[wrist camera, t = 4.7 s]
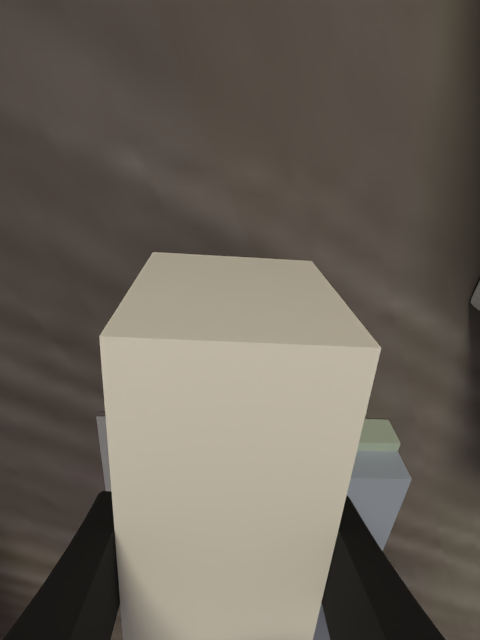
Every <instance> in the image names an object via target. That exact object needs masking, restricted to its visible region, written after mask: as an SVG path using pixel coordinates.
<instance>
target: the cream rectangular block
mask: <svg viewBox="0 0 480 640" xmlns="http://www.w3.org/2000/svg"><path fill="white" fill-rule="evenodd" d="M99 338H100V351H101V364H102V377H103V390H104V403H105V415H106V428H107V441H108V454H109V467H110V480H111V492H112V505H113V518H114V531H115V544H116V556H117V569H118V582H119V595H120V608H121V621H122V633H123V640H313V636H314V632H315V628H316V624H317V619H318V615H319V611H320V607H321V602H322V598H323V594H324V590H325V585H326V581H327V577H328V573H329V568H330V564H331V560H332V555H333V551H334V547H335V543H336V538H337V534H338V530H339V526H340V521H341V517H342V513H343V509H344V504H345V500H346V496H347V491H348V487H349V483H350V479H351V474H352V470H353V466H354V462H355V457H356V453H357V449H358V445H359V440H360V436H361V432H362V428H363V423H364V419H365V415H366V410H367V406H368V402H369V398H370V393H371V389H372V385H373V381H374V376H375V372H376V368H377V364H378V359H379V355H380V351H381V347H380V346H379V345H378V343H377V342H376V341H375V340H374V338H373V337H372V336H371V335H370V333H369V332H368V331H367V330H366V328H365V327H364V326H363V325H362V323H361V322H360V321H359V320H358V318H357V317H356V316H355V315H354V313H353V312H352V311H351V310H350V308H349V307H348V306H347V305H346V303H345V302H344V301H343V300H342V298H341V297H340V296H339V295H338V293H337V292H336V291H335V290H334V288H333V287H332V286H331V285H330V283H329V282H328V281H327V280H326V278H325V277H324V276H323V275H322V273H321V272H320V271H319V270H318V268H317V267H316V266H315V265H314V263H313V262H312V261H302V260H284V259H266V258H248V257H231V256H213V255H195V254H177V253H159V252H153V253H152V254H151V256H150V258H149V259H148V261H147V262H146V264H145V265H144V267H143V269H142V270H141V272H140V273H139V275H138V276H137V278H136V280H135V281H134V283H133V284H132V286H131V287H130V289H129V291H128V292H127V294H126V295H125V297H124V298H123V300H122V302H121V303H120V305H119V306H118V308H117V309H116V311H115V312H114V314H113V316H112V317H111V319H110V320H109V322H108V323H107V325H106V327H105V328H104V330H103V331H102V333H101V334H100V336H99Z"/></svg>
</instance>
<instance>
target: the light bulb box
mask: <svg viewBox="0 0 480 640" xmlns="http://www.w3.org/2000/svg"><path fill="white" fill-rule="evenodd" d="M471 304H472V305H473V306H474V307H475V308H476V309H478V310H479V311H480V280H479V282H478V285H477V287H476V289H475V292H474V294H473V296H472V298H471Z"/></svg>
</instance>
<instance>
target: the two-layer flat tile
mask: <svg viewBox="0 0 480 640" xmlns="http://www.w3.org/2000/svg"><path fill="white" fill-rule="evenodd" d="M400 444H401V443H400V441H399V439H398V437H397V436H396V434H395V432H394V430H393V428H392V426H391V424H390V422H389V420H382V419H364V423H363V428H362V432H361V436H360V440H359V445H358V449H357V453H356V457H355V462H354V466H353V470H352V474H351V479H350V483H349V487H348V491H347V496H348V497H349V498H350V499H351V501H352V503H353V505H354V506H355V508H356V510H357V511H358V513H359V515H360V516H361V518H362V520H363V521H364V523H365V525H366V526H367V528H368V529H369V531H370V533H371V534H372V536H373V537H374V539H375V540H376V542H377V544H378V545H379V547H380V548H381V550H382V551H383V549H384V547H385V544H386V542H387V539H388V537H389V534H390V532H391V529H392V527H393V524H394V522H395V519H396V517H397V514H398V512H399V509H400V507H401V504H402V502H403V499H404V497H405V494H406V492H407V490H408V487H409V485H410V482H411V480H412V479H411V477H410V475H409V473H408V471H407V469H406V467H405V465H404V463H403V461H402V459H401V457H400V455H399V453H398V449H399V446H400ZM313 640H330V636H329V632H328V628H327V624H326V620H325V615H324V611H323V607H322V603H321V607H320V611H319V615H318V619H317V624H316V628H315V632H314V636H313Z"/></svg>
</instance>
